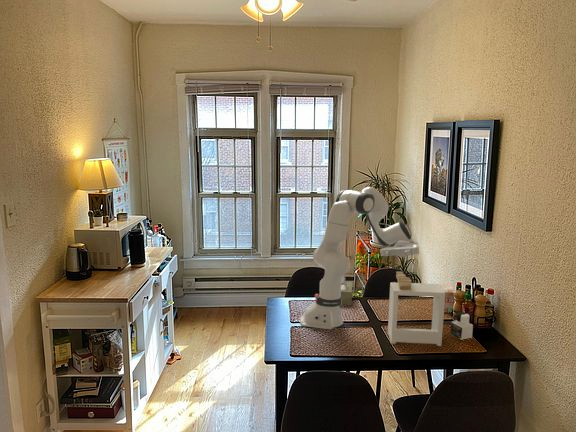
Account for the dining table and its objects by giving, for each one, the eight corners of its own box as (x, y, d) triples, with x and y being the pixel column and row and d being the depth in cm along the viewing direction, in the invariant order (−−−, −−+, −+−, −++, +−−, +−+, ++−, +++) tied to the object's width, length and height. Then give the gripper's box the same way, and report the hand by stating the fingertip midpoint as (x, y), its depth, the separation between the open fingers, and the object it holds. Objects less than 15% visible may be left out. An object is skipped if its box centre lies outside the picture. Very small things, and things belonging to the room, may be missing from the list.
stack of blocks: (436, 299, 271) (437, 279, 269) (447, 299, 270) (448, 280, 268) (441, 312, 250) (442, 291, 248) (453, 313, 249) (454, 292, 247)
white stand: (391, 343, 212) (393, 290, 208) (387, 332, 224) (390, 282, 220) (441, 345, 210) (445, 292, 206) (435, 334, 222) (438, 283, 218)
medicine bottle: (450, 335, 222) (451, 312, 220) (461, 332, 225) (463, 309, 222) (460, 341, 215) (462, 317, 213) (472, 338, 218) (474, 315, 216)
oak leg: (410, 290, 209) (411, 280, 208) (399, 289, 209) (400, 280, 208) (404, 277, 227) (404, 268, 227) (394, 277, 228) (394, 268, 227)
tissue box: (336, 293, 280) (337, 268, 277) (352, 294, 278) (353, 269, 275) (334, 304, 261) (335, 278, 259) (351, 305, 260) (352, 279, 257)
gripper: (382, 244, 251) (376, 249, 239) (420, 241, 242) (415, 246, 230) (384, 255, 252) (377, 260, 239) (421, 253, 242) (417, 259, 230)
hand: (396, 253), depth 234 cm, fingers open, 8 cm apart
